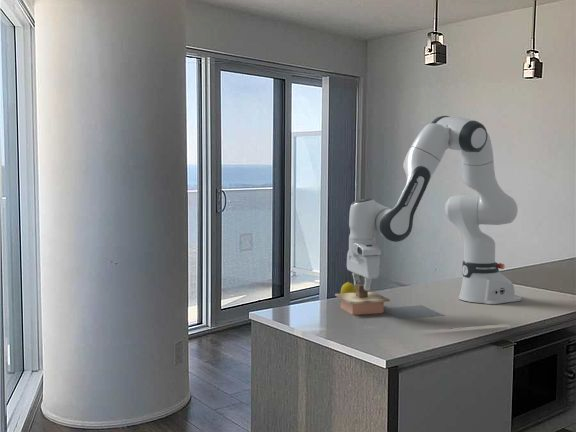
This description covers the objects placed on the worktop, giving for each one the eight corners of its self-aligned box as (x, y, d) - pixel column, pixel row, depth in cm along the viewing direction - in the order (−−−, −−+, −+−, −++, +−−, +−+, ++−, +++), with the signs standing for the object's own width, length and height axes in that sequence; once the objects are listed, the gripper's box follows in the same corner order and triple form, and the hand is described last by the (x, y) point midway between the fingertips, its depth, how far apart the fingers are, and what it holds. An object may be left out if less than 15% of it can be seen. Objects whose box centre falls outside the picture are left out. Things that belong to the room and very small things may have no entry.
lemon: (355, 305, 223) (355, 283, 222) (339, 304, 224) (339, 282, 223) (356, 302, 228) (356, 280, 228) (341, 301, 229) (341, 280, 229)
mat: (421, 308, 219) (421, 305, 219) (445, 318, 203) (445, 315, 203) (379, 310, 214) (379, 308, 214) (400, 322, 199) (400, 318, 199)
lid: (372, 293, 220) (372, 280, 219) (389, 301, 206) (389, 287, 206) (335, 295, 216) (335, 282, 216) (349, 303, 202) (350, 289, 202)
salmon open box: (370, 308, 218) (370, 294, 218) (383, 315, 208) (383, 300, 207) (340, 310, 215) (340, 296, 215) (352, 317, 205) (352, 302, 204)
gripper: (342, 243, 219) (342, 282, 220) (365, 251, 199) (364, 294, 200) (359, 243, 221) (358, 281, 222) (383, 250, 201) (383, 293, 202)
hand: (361, 287), depth 211 cm, fingers open, 7 cm apart
